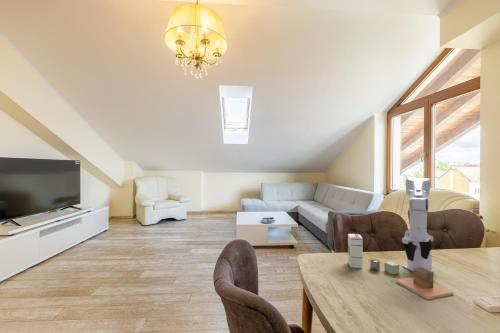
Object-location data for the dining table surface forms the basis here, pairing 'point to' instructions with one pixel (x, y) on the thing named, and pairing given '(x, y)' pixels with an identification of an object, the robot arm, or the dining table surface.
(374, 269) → the grey metal cylinder
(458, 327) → the dining table surface
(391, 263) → the sage painted cube
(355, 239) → the syrup box
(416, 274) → the walnut block
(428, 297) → the terracotta tile
